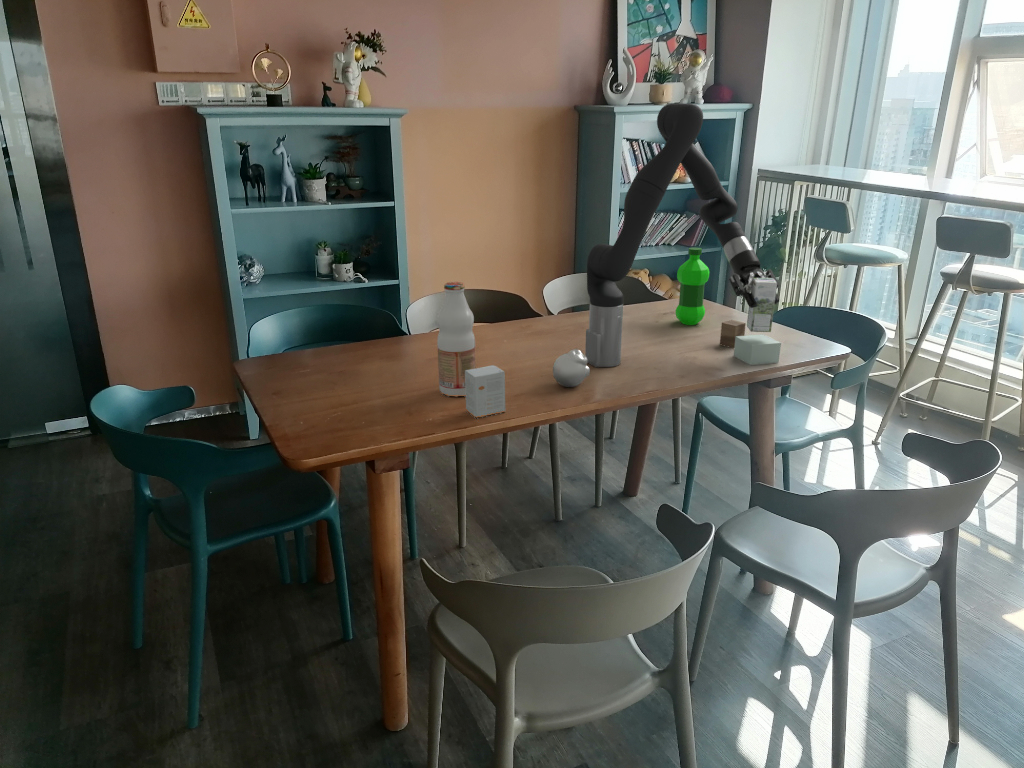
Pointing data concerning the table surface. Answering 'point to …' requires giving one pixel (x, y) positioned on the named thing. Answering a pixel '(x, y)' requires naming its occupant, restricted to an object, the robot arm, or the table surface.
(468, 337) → the fruit juice
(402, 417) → the table surface
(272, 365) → the table surface
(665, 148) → the robot arm
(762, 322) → the milk carton
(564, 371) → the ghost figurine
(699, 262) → the plastic bottle
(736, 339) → the green block
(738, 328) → the walnut block
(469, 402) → the small box
